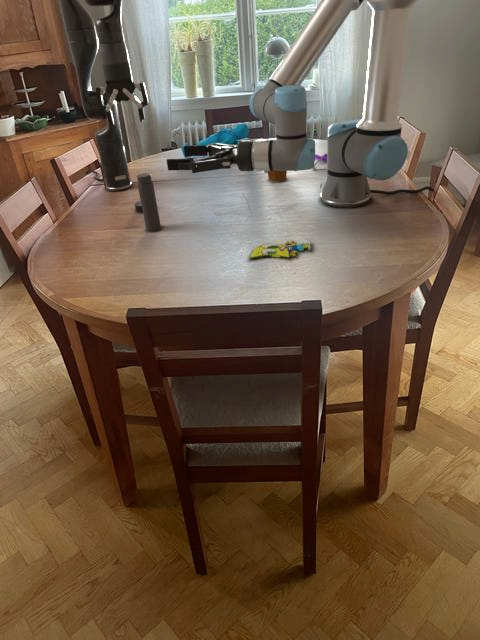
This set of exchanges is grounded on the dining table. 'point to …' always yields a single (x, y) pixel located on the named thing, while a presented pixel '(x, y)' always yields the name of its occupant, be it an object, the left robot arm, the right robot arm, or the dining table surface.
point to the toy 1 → (226, 137)
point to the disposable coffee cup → (277, 176)
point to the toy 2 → (279, 250)
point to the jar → (148, 202)
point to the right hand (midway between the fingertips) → (176, 157)
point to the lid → (138, 207)
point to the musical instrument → (319, 160)
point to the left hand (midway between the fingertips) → (127, 123)
